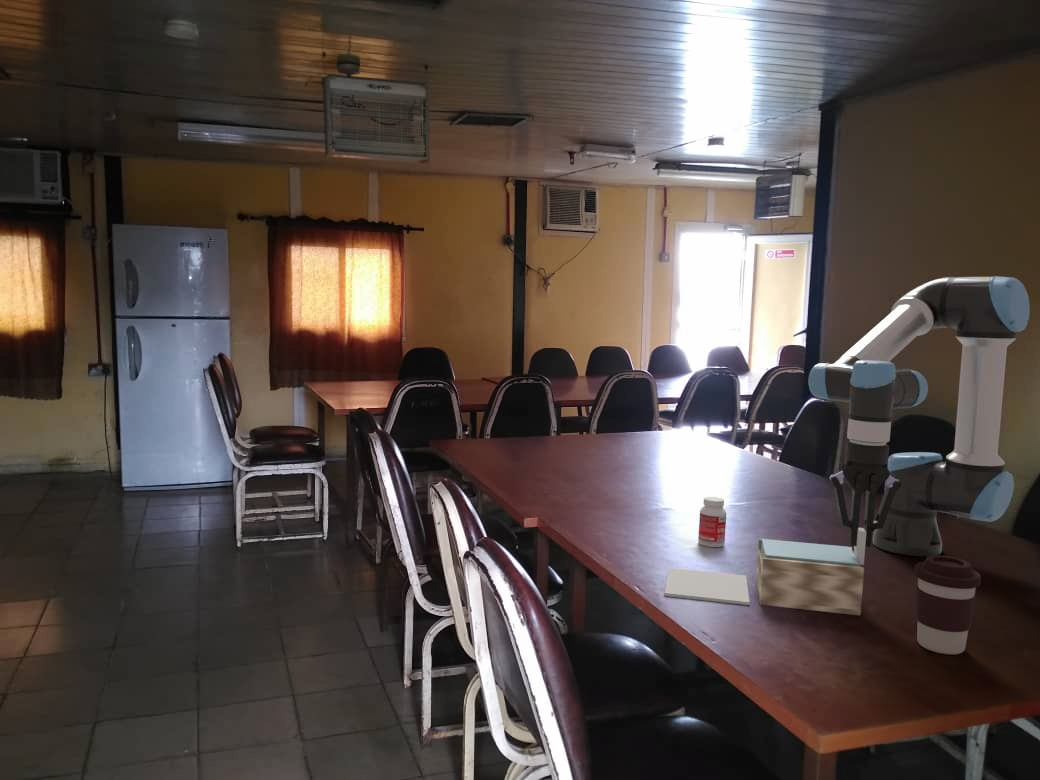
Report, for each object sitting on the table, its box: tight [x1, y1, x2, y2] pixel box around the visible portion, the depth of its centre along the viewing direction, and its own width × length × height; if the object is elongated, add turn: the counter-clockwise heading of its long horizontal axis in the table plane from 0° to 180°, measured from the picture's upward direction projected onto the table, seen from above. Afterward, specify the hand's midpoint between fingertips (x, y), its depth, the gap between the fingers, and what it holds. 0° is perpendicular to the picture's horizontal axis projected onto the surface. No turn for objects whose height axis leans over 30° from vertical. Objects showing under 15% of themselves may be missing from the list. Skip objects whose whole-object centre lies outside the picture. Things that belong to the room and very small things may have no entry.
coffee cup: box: [914, 554, 982, 655], centre depth 139 cm, size 10×10×15 cm
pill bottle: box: [697, 496, 727, 548], centre depth 195 cm, size 6×6×11 cm
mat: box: [663, 567, 751, 606], centre depth 166 cm, size 16×16×1 cm
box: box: [755, 538, 865, 616], centre depth 161 cm, size 18×14×9 cm
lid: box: [761, 538, 861, 567], centre depth 161 cm, size 17×11×2 cm, turn 77°
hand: (858, 562), depth 159 cm, fingers closed
